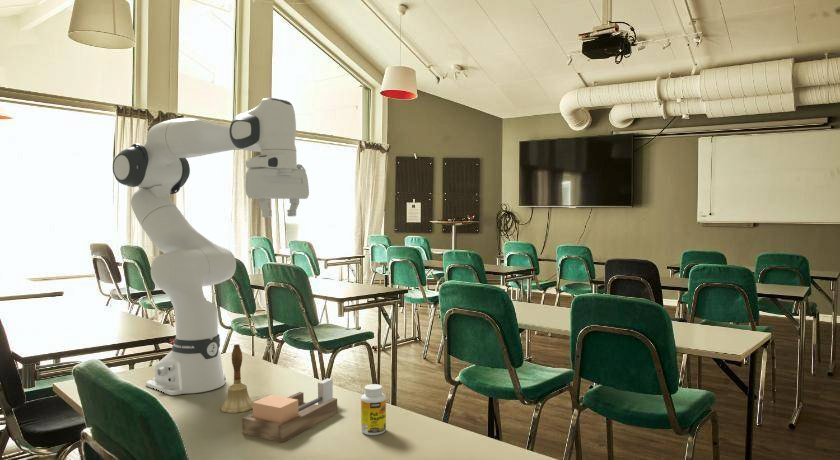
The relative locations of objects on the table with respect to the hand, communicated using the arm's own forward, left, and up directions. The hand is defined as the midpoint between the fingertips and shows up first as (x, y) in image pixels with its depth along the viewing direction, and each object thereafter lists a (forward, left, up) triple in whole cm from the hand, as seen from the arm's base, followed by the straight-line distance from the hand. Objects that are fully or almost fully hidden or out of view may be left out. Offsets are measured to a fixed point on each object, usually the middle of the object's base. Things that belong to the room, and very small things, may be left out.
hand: (279, 216), depth 148 cm
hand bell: (-8, -8, -48) cm, 49 cm away
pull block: (+11, -7, -48) cm, 49 cm away
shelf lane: (+11, -10, -48) cm, 50 cm away
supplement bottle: (+31, -6, -48) cm, 58 cm away
